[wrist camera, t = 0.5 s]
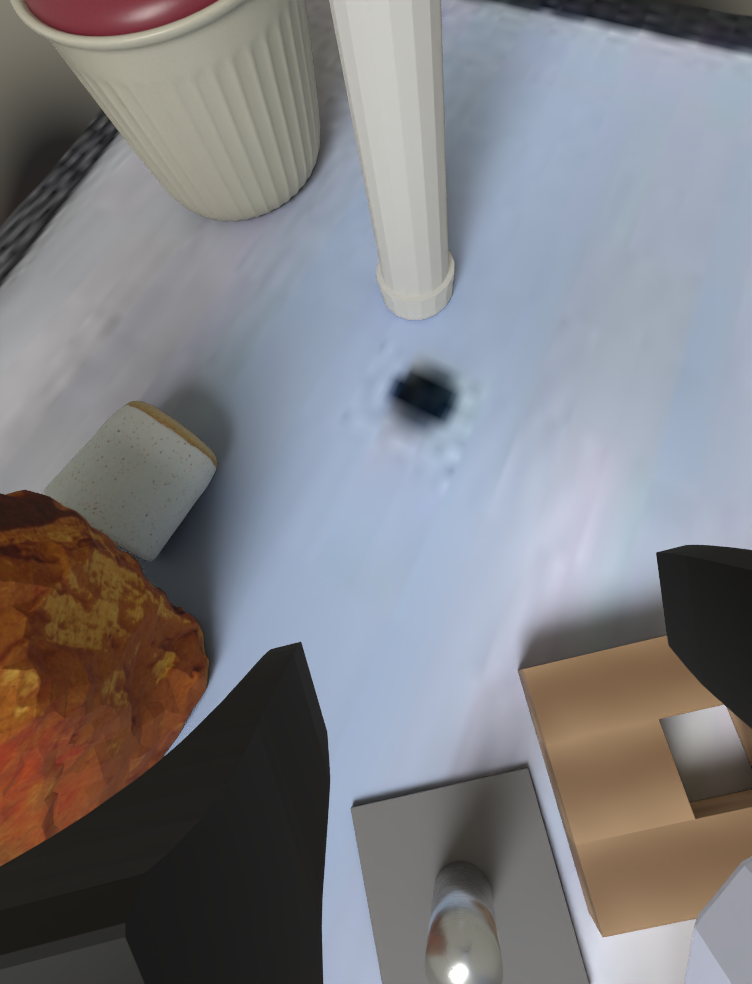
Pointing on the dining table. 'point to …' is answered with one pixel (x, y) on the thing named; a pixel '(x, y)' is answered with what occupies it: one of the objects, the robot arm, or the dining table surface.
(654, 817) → the block
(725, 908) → the robot arm
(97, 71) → the canister
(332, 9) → the white tall cylinder
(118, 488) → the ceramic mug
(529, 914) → the mat
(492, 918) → the peg
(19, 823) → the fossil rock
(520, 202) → the dining table surface
